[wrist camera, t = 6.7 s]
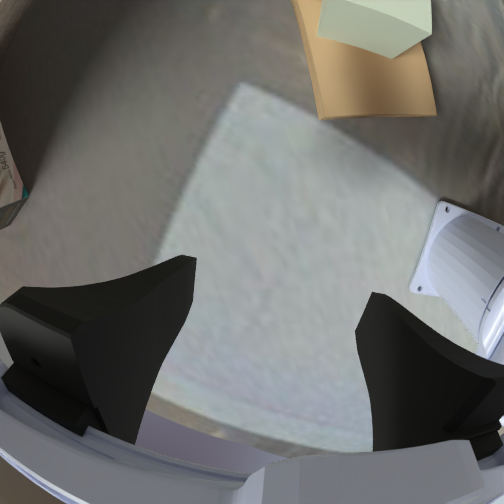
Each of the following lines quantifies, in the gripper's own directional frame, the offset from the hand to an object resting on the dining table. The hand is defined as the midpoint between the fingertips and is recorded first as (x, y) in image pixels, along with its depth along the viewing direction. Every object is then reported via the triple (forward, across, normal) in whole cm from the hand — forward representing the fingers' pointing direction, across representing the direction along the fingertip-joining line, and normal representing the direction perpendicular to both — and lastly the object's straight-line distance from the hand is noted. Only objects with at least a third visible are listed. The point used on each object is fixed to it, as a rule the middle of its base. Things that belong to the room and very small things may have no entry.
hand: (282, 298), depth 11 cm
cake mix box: (+10, +34, -5) cm, 36 cm away
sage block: (+8, -2, -16) cm, 18 cm away
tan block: (+10, -2, -16) cm, 19 cm away
